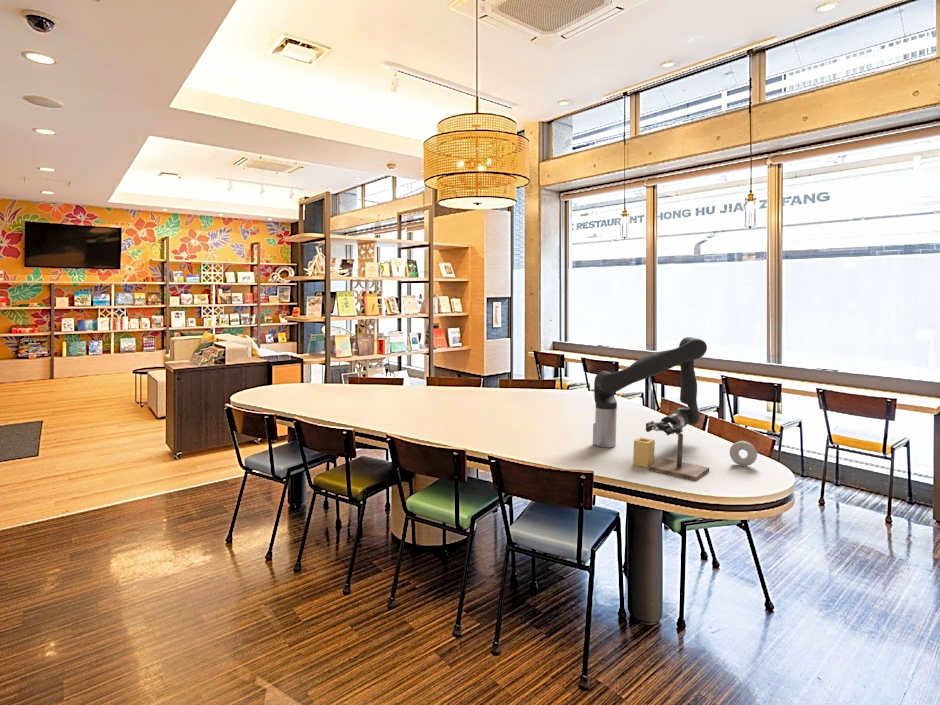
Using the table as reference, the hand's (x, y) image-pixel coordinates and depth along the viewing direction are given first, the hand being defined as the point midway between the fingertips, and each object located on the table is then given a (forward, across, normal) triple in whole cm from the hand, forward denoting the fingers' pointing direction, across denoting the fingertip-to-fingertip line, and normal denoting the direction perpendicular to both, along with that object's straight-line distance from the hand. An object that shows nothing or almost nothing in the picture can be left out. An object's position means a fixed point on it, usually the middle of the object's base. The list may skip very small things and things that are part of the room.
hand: (657, 431), depth 231 cm
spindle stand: (+10, +13, +12) cm, 20 cm away
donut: (-13, +30, +12) cm, 35 cm away
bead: (+12, 0, +11) cm, 16 cm away
